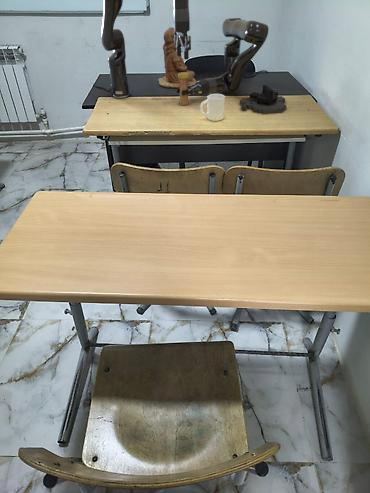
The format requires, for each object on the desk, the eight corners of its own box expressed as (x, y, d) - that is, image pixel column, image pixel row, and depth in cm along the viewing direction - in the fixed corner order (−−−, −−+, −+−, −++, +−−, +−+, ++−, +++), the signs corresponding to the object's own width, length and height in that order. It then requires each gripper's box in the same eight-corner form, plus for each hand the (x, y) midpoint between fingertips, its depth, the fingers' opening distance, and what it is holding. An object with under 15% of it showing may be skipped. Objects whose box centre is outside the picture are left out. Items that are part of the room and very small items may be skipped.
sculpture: (197, 88, 213) (196, 30, 194) (156, 89, 214) (152, 31, 194) (196, 75, 234) (196, 22, 215) (159, 76, 235) (156, 23, 215)
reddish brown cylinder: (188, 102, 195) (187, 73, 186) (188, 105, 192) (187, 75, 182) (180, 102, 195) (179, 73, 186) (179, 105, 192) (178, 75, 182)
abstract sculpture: (248, 96, 172) (237, 84, 187) (247, 115, 178) (235, 102, 193) (298, 91, 175) (282, 80, 190) (294, 110, 181) (280, 98, 196)
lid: (188, 75, 187) (188, 72, 186) (188, 78, 183) (188, 75, 182) (178, 75, 187) (178, 72, 186) (177, 78, 183) (177, 75, 182)
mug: (201, 122, 172) (201, 100, 166) (198, 116, 178) (198, 94, 172) (225, 120, 173) (226, 98, 167) (221, 114, 180) (222, 93, 173)
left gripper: (168, 18, 172) (170, 55, 183) (180, 22, 162) (182, 61, 173) (182, 16, 175) (183, 54, 185) (195, 20, 165) (195, 59, 175)
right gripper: (199, 76, 197) (172, 81, 191) (214, 82, 187) (185, 88, 181) (199, 90, 202) (173, 95, 195) (213, 97, 192) (186, 103, 186)
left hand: (182, 57), depth 179 cm, fingers open, 7 cm apart
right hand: (179, 92), depth 188 cm, fingers closed on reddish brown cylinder, 4 cm apart
